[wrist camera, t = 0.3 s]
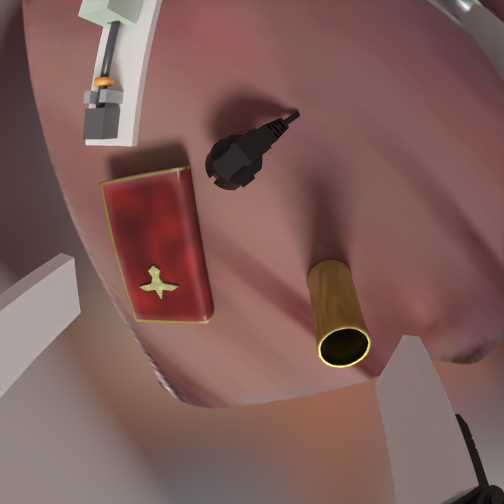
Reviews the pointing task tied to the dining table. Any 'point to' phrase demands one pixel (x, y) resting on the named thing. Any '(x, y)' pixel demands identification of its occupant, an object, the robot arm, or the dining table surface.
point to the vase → (337, 315)
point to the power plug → (243, 154)
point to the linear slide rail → (120, 80)
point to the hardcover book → (159, 246)
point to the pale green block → (110, 11)
